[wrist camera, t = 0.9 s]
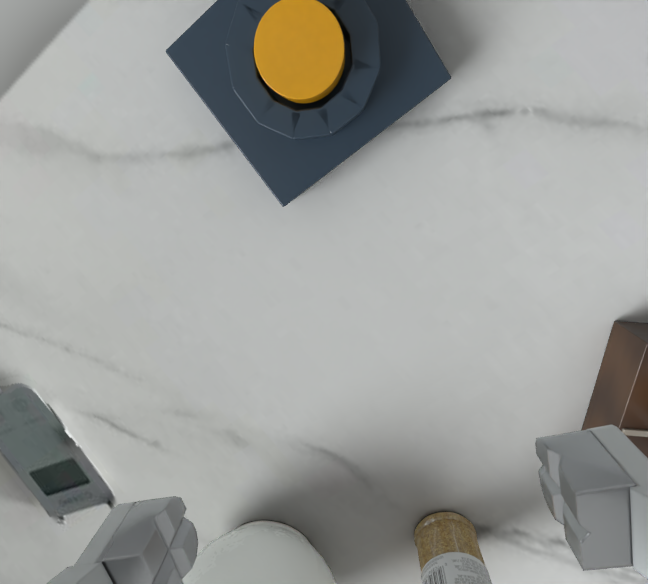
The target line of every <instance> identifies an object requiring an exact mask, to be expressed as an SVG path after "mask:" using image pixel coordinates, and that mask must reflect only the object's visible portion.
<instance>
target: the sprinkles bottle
mask: <svg viewBox="0 0 648 584" xmlns="http://www.w3.org/2000/svg"><path fill="white" fill-rule="evenodd" d="M414 538H415V539H414V542H415V545H416V547H417V549H418V555H419V561H420V567H421V572H422V573H421V581H422V584H492V582H491V579H490V576H489V573H488V570H487V568H486V567H485V564H484V561H483V558H482V555H481V552H480V548H479V545H478V542H477V535H476V531H475V529H474V527H473V525H472V523H471V522H470V521H469V520H467V519H466V518H465V517H463V516H461V515H459V514H456V513H453V512H439V513H435V514H431V515H429V516H427V517H425V518H424V519H423V520H422V521H421V522H420V523H419V524H418V525H417V527H416V529H415V532H414Z"/></svg>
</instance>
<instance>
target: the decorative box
mask: <svg viewBox="0 0 648 584" xmlns="http://www.w3.org/2000/svg"><path fill="white" fill-rule="evenodd" d="M182 580H183V583H184V584H336V582H335V579H334V576H333V574H332V572H331V571H330V569H329V567H328V565H327V564H326V562H325V560H324V559H323V558H322V556H321V555H320V554H319V553H318V552H317V551H316V550H315V548H313V547H312V546H311V544H310V542H309V541H308V540H307V538H306V537H305V536H304V535H303V534H301V533H300V532H299V531H297V530H296V529H294V528H292V527H290V526H288V525H285V524H283V523H279V522H275V521H254V522H250V523H246V524H244V525H242V526H240V527H238V528H236V529H235V530H233V531H231V532H229V533H226V534H224V535H222V536H220V537H219V538H217V539H216V540H214V541H213V542H211V543H210V544H209V545H207V546H206V547H205V548H204V549H203V550H202V551H201V552H199V554H198V555H197V557H196V560H195V562H194V565H193V568H192V569H191V570H190V571H189V572H188V573H187V574H186V575H185V576H184V578H183V579H182Z"/></svg>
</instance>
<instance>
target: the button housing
mask: <svg viewBox="0 0 648 584" xmlns="http://www.w3.org/2000/svg"><path fill="white" fill-rule="evenodd" d="M279 1H280V0H217V1H216V2H215V3H214V4H213V5H212V6H211V7H210V8H209V9H208V10H207V11H206V12H205V13H204V14H203V15H202V16H201V17H200V18H199V19H198V20H197V21H196V22H195V23H194V24H193V25H192V26H191V27H190V28H189V29H188V30H186V31H185V32H184V33H183V34H182V35H181V36H180V37H179V38H178V39H177V40H176V41H175V42H174V43H173V44H172V45H171V46H170V47H169V48H168V49H167V50H166V53H167V54H168V56H169V57H170V58H171V60H172V61H173V62H174V64H175V65H176V66H177V68H178V69H179V70H180V71H181V73H182V74H183V75H184V77H185V78H186V79H187V81H188V82H189V83H190V85H191V86H192V87H193V89H194V90H195V91H196V93H197V94H198V95H199V97H200V98H201V99H202V101H203V102H204V103H205V105H206V106H207V107H208V108H209V110H210V111H211V112H212V114H213V115H214V116H215V118H216V119H217V120H218V122H219V123H220V124H221V126H222V127H223V128H224V130H225V131H226V132H227V134H228V135H229V136H230V138H231V139H232V140H233V141H234V143H235V144H236V145H237V147H238V148H239V149H240V151H241V152H242V153H243V155H244V156H245V157H246V159H247V160H248V161H249V163H250V164H251V165H252V167H253V168H254V169H255V171H256V172H257V173H258V175H259V176H260V177H261V178H262V180H263V181H264V182H265V184H266V185H267V186H268V188H269V189H270V190H271V192H272V193H273V194H274V196H275V197H276V198H277V200H278V201H279V202H280V204H281V205H282V206H283V207H284V206H286V205H287V204H288V203H290V202H291V201H292V200H293V199H295V198H296V197H297V196H299V195H300V194H301V193H303V192H304V191H305V190H306V189H308V188H309V187H310V186H312V185H313V184H314V183H316V182H317V181H318V180H319V179H321V178H322V177H323V176H325V175H326V174H327V173H329V172H330V171H331V170H333V169H334V168H335V167H336V166H338V165H339V164H340V163H342V162H343V161H344V160H346V159H347V158H348V157H349V156H351V155H352V154H353V153H355V152H356V151H357V150H359V149H360V148H361V147H362V146H364V145H365V144H366V143H368V142H369V141H370V140H372V139H373V138H374V137H376V136H377V135H378V134H379V133H381V132H382V131H383V130H385V129H386V128H387V127H389V126H390V125H391V124H392V123H394V122H395V121H396V120H398V119H399V118H400V117H402V116H403V115H404V114H405V113H407V112H408V111H409V110H411V109H412V108H413V107H415V106H416V105H417V104H418V103H420V102H421V101H422V100H424V99H425V98H426V97H428V96H429V95H430V94H432V93H433V92H434V91H435V90H437V89H438V88H439V87H441V86H442V85H443V84H445V83H446V82H447V81H448V80H450V79H451V76H450V74H449V73H448V71H447V69H446V68H445V66H444V64H443V63H442V61H441V59H440V57H439V56H438V54H437V52H436V51H435V49H434V47H433V46H432V44H431V42H430V41H429V39H428V37H427V36H426V34H425V32H424V31H423V29H422V27H421V25H420V24H419V22H418V20H417V19H416V17H415V15H414V14H413V12H412V10H411V9H410V7H409V5H408V4H407V2H406V0H317V1H319V2H321V3H322V4H324V5H325V6H326V7H327V8H328V9H329V10H330V11H331V12H332V13H333V15H334V16H335V17H336V19H337V21H338V23H339V25H340V27H341V30H342V33H343V38H344V46H345V65H344V70H343V73H342V76H341V78H340V80H339V82H338V84H337V85H336V87H335V88H334V89H333V90H332V91H331V92H330V93H329V94H328V95H327V96H325V97H324V98H322V99H320V100H318V101H315V102H312V103H296V102H292V101H289V100H287V99H285V98H284V97H282V96H281V95H279V94H278V93H276V92H275V91H274V90H272V89H271V88H270V87H269V86H268V85H267V83H266V82H265V81H264V80H263V78H262V76H261V75H260V73H259V70H258V68H257V65H256V62H255V57H254V38H255V34H256V30H257V27H258V25H259V22H260V21H261V19H262V17H263V16H264V14H265V13H266V12H267V11H268V10H269V8H270V7H272V6H273V5H274V4H275V3H277V2H279Z"/></svg>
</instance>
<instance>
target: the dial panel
mask: <svg viewBox="0 0 648 584" xmlns="http://www.w3.org/2000/svg"><path fill="white" fill-rule="evenodd" d="M606 425H614V426H616V427H618V428H619V429H620V430H621V431H622V432H623V433H624V434H625V435H626V436H627V438H628V439H629V440H630V441H631V442H632V443H633V444H634V445H635V446H636V447H637V448H638V449H639V450H640V451H641V452H642V453H643V454H644V455H645V456H646V457H647V458H648V323H635V322H620V321H614V324H613V327H612V331H611V334H610V337H609V340H608V344H607V347H606V350H605V354H604V357H603V360H602V364H601V367H600V370H599V374H598V377H597V380H596V384H595V387H594V390H593V394H592V397H591V400H590V404H589V407H588V410H587V414H586V417H585V420H584V424H583V427H582V430H586V429H590V428H595V427H601V426H606ZM582 430H581V431H582Z"/></svg>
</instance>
